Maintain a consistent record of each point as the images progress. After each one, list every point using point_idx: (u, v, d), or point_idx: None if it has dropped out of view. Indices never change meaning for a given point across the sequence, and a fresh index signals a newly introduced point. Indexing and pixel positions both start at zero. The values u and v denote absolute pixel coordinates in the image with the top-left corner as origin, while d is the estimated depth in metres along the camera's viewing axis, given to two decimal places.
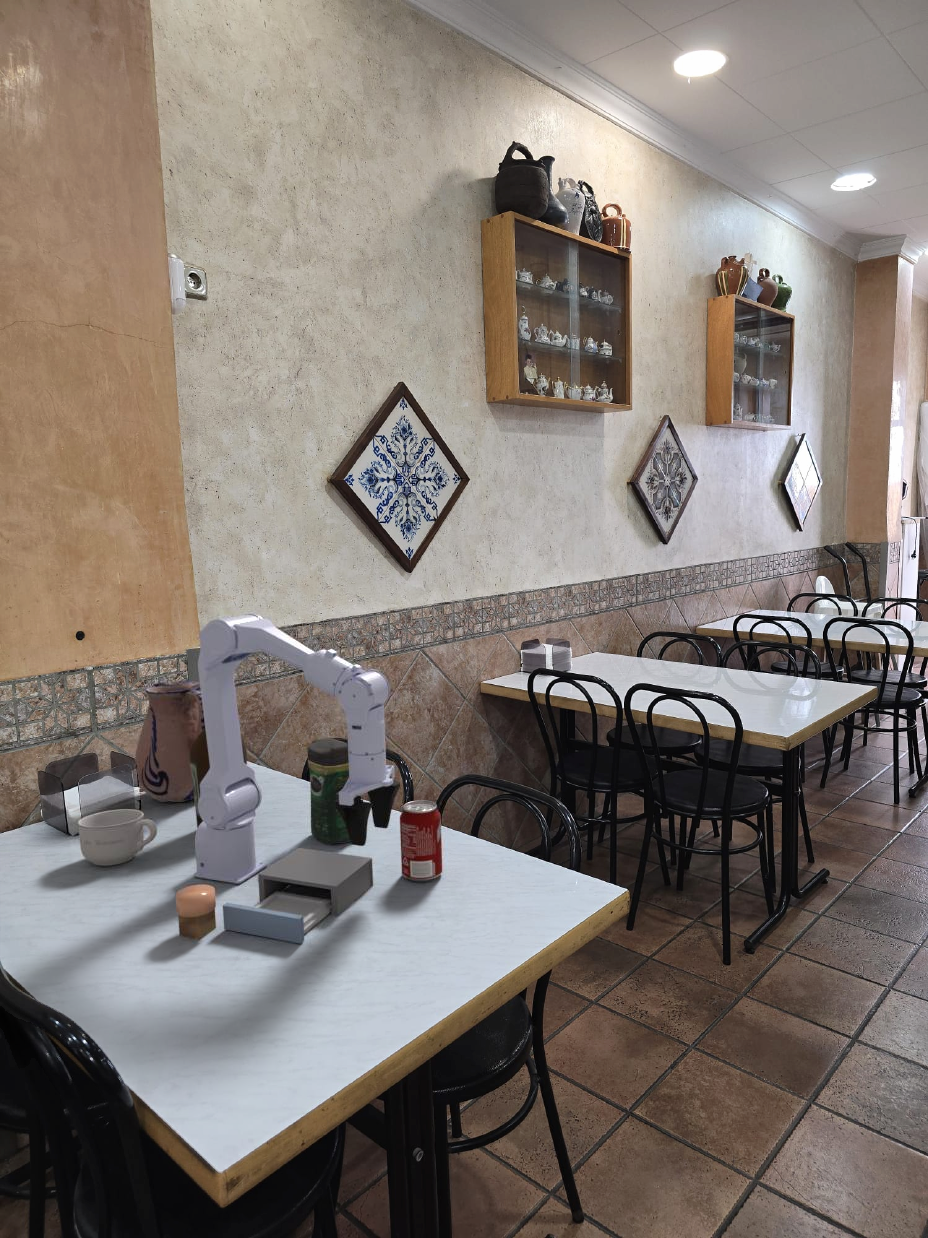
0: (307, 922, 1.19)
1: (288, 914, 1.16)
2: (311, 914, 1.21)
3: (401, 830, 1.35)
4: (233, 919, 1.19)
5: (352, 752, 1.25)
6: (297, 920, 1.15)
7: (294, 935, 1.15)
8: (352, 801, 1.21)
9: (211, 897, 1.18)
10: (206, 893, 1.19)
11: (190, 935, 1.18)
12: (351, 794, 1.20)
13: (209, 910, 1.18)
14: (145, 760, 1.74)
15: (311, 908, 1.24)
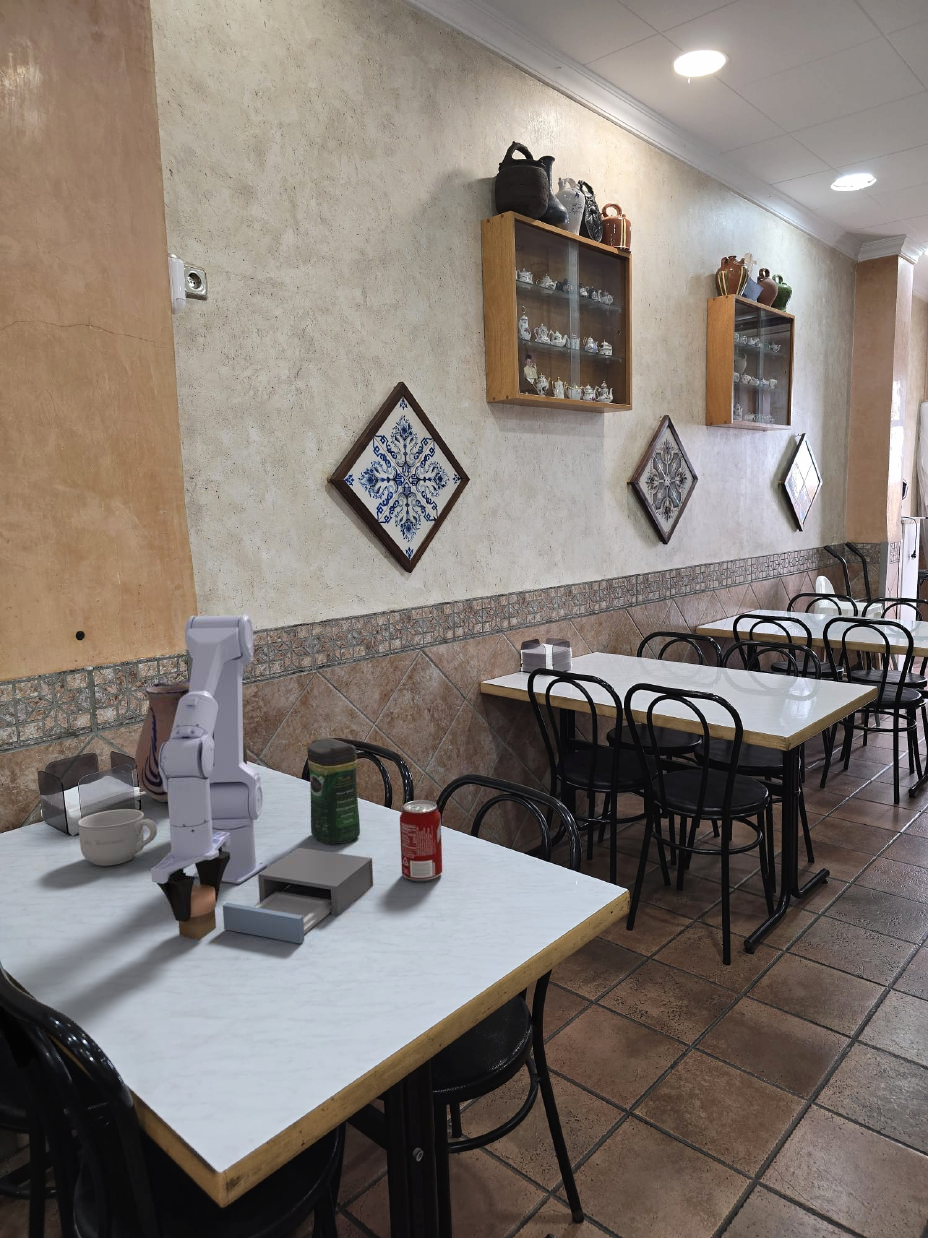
0: (307, 922, 1.19)
1: (288, 914, 1.16)
2: (311, 914, 1.21)
3: (401, 830, 1.35)
4: (233, 919, 1.19)
5: None
6: (297, 920, 1.15)
7: (294, 935, 1.15)
8: (165, 879, 1.12)
9: (211, 897, 1.18)
10: (206, 893, 1.19)
11: (190, 935, 1.18)
12: (164, 871, 1.12)
13: (209, 910, 1.18)
14: (145, 760, 1.74)
15: (311, 908, 1.24)
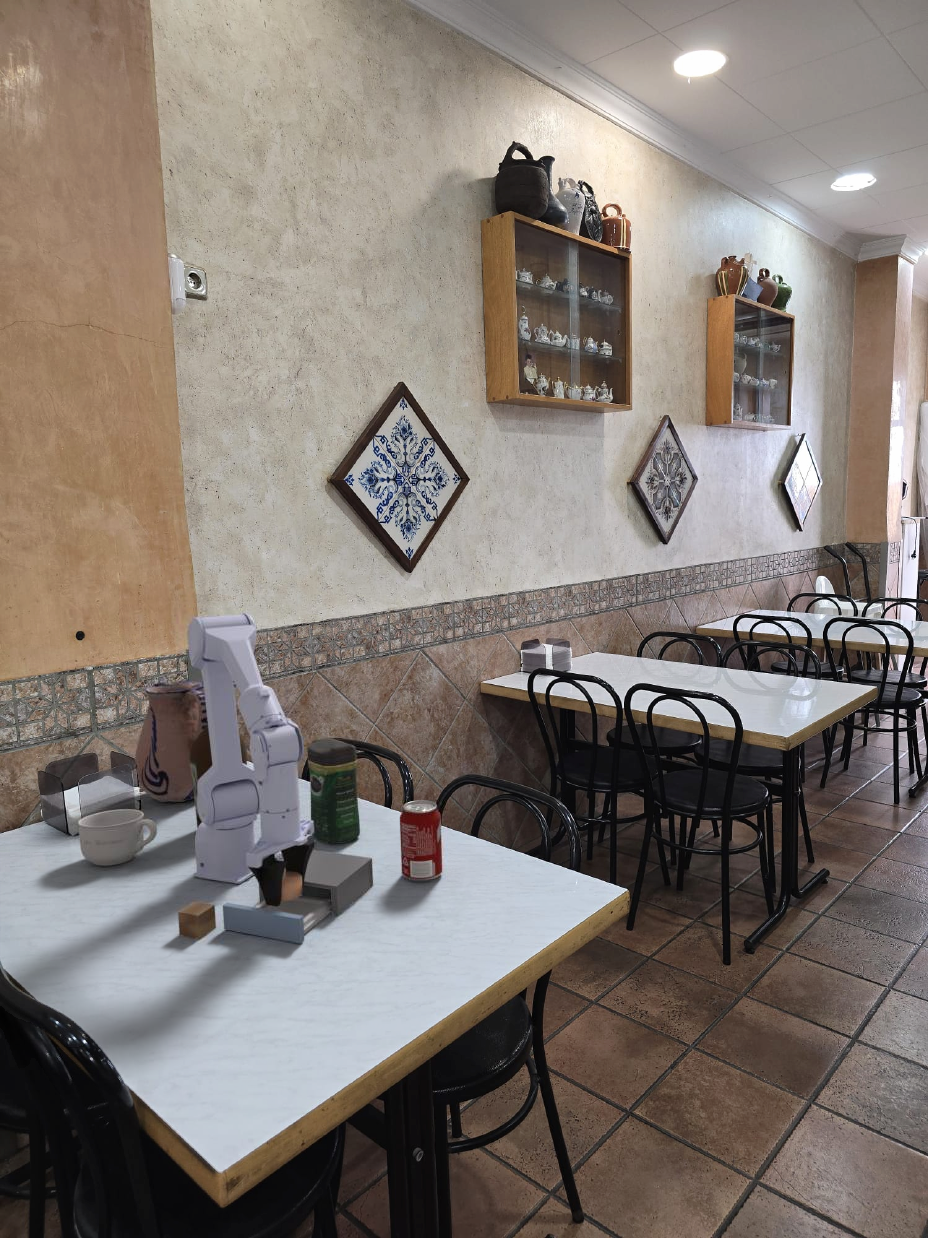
0: (307, 922, 1.19)
1: (288, 914, 1.16)
2: (311, 914, 1.21)
3: (401, 830, 1.35)
4: (233, 919, 1.19)
5: (259, 807, 1.20)
6: (297, 920, 1.15)
7: (294, 935, 1.15)
8: (260, 863, 1.15)
9: (300, 882, 1.21)
10: (294, 879, 1.22)
11: (190, 935, 1.18)
12: (258, 856, 1.14)
13: (298, 895, 1.21)
14: (145, 760, 1.74)
15: (311, 908, 1.24)
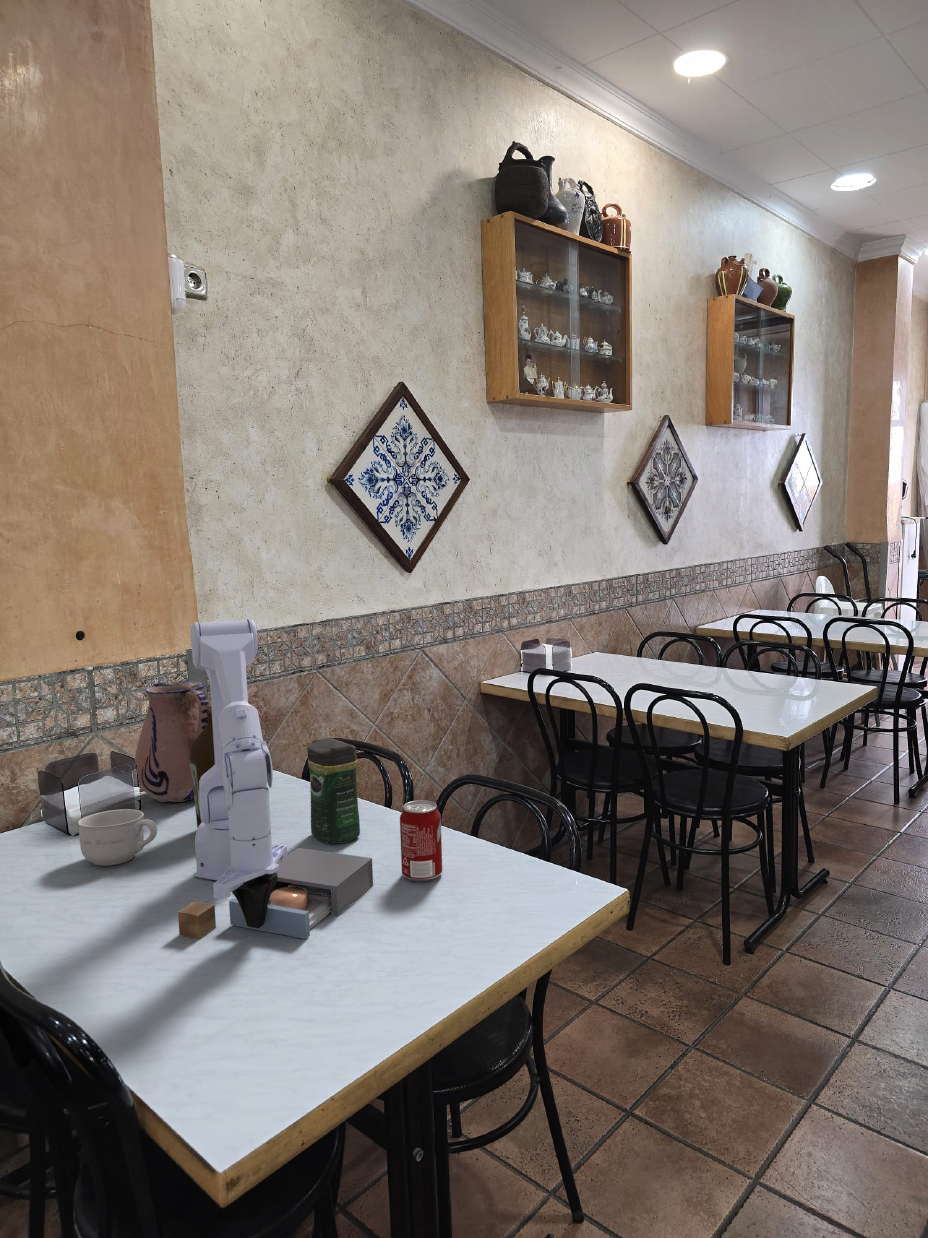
0: (312, 918, 1.20)
1: (294, 910, 1.17)
2: (316, 910, 1.22)
3: (401, 830, 1.35)
4: (239, 915, 1.20)
5: None
6: (303, 915, 1.16)
7: (300, 930, 1.16)
8: (228, 894, 1.10)
9: (305, 899, 1.23)
10: (299, 895, 1.23)
11: (190, 935, 1.18)
12: (226, 886, 1.10)
13: None
14: (145, 760, 1.74)
15: (316, 904, 1.25)
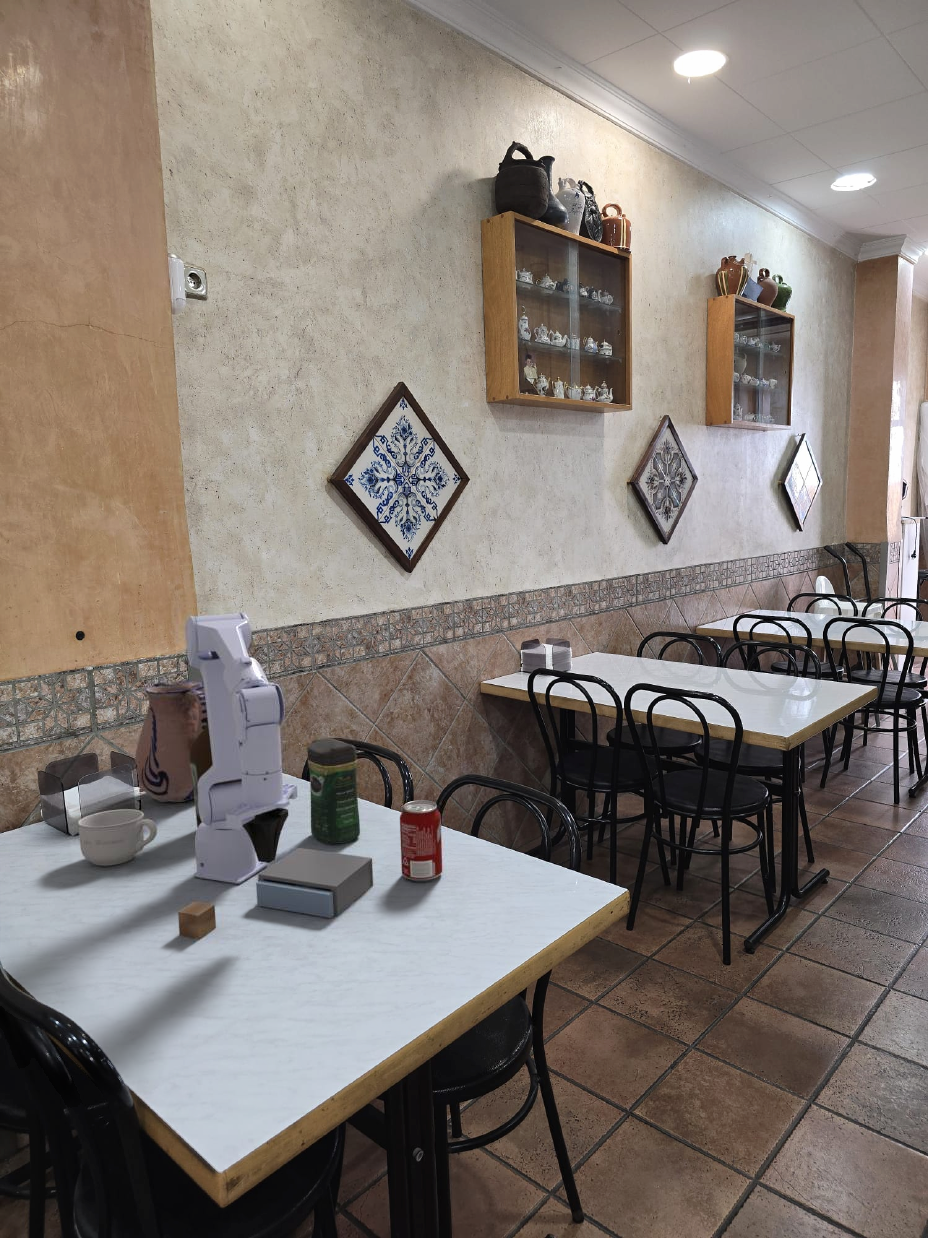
0: None
1: (318, 890, 1.23)
2: None
3: (401, 830, 1.35)
4: (266, 896, 1.26)
5: None
6: (327, 896, 1.22)
7: (324, 910, 1.22)
8: (240, 825, 1.12)
9: None
10: None
11: (190, 935, 1.18)
12: (239, 817, 1.12)
13: None
14: (145, 760, 1.74)
15: None
